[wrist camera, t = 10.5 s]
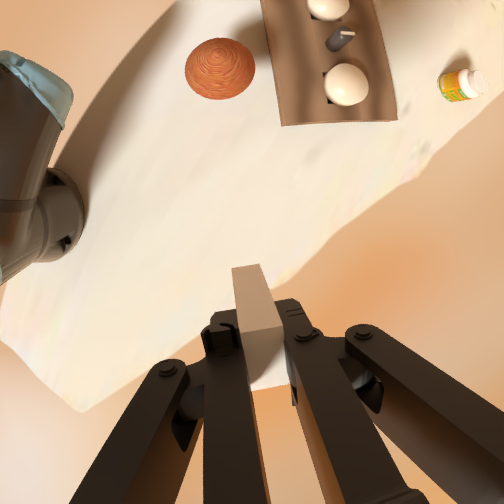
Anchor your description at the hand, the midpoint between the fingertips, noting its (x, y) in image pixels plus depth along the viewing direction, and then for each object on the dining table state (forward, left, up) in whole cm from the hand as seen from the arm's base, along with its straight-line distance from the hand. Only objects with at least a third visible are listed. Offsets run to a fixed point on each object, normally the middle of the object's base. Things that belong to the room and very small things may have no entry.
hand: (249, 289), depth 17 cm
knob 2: (+18, +16, -29) cm, 38 cm away
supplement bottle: (+42, +18, -30) cm, 54 cm away
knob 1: (+18, +30, -29) cm, 45 cm away
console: (+18, +23, -29) cm, 41 cm away
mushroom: (+1, +18, -30) cm, 35 cm away
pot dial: (+18, +23, -26) cm, 39 cm away
